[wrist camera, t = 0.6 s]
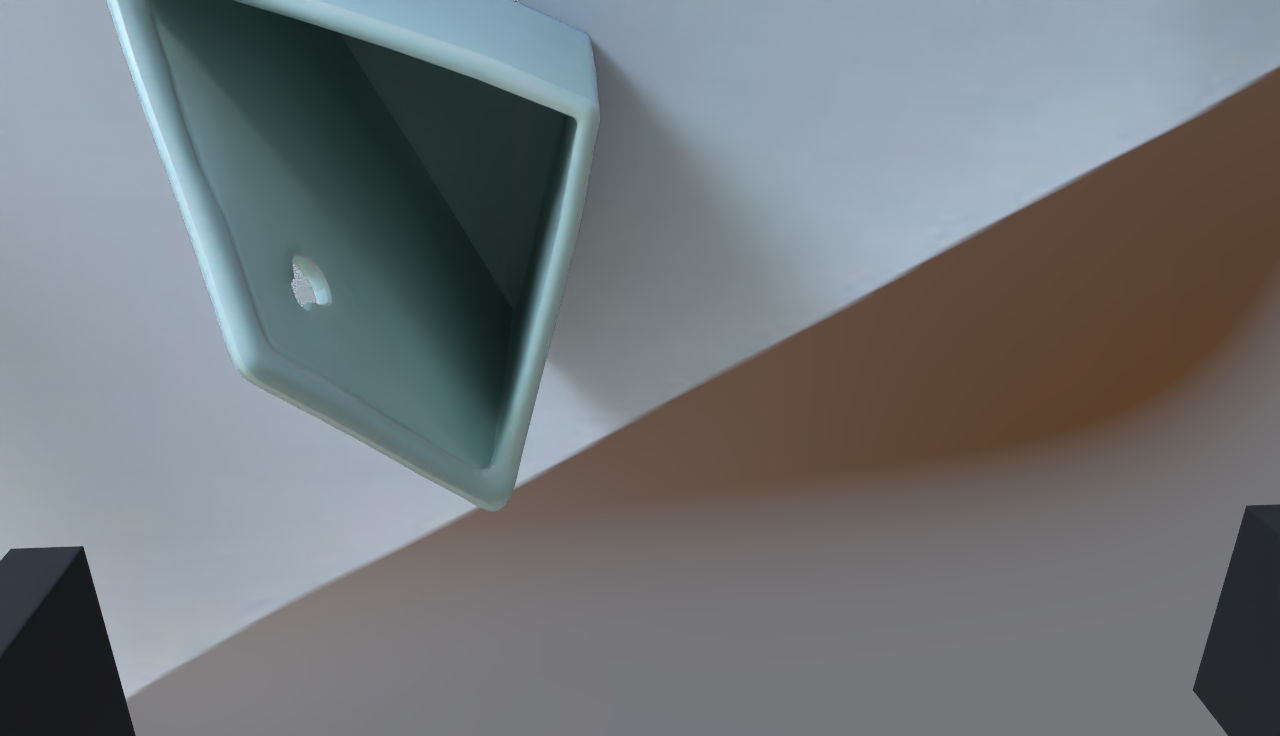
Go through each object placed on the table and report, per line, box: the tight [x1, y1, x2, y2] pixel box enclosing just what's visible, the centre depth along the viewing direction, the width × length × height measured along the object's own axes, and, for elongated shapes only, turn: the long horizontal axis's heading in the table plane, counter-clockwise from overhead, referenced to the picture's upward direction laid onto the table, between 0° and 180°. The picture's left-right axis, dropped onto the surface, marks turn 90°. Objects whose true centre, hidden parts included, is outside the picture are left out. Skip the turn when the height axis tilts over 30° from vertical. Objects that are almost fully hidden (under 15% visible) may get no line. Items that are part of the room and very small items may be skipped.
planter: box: [106, 0, 600, 511], centre depth 27 cm, size 16×8×20 cm, turn 28°
